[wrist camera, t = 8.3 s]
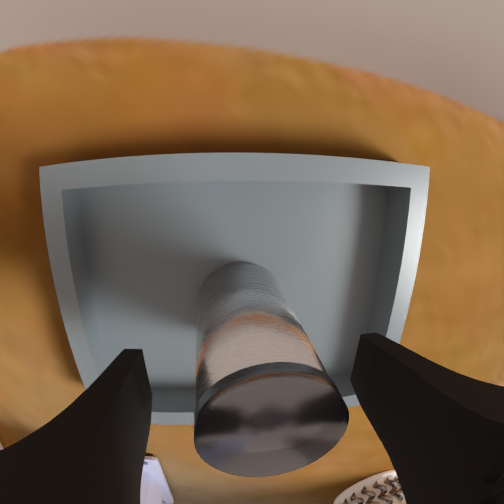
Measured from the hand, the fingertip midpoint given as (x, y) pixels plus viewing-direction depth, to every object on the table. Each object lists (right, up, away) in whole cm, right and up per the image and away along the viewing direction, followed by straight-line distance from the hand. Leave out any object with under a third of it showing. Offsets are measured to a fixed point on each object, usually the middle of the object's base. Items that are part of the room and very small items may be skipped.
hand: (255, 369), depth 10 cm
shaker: (-1, +1, +5) cm, 5 cm away
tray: (-1, +2, +5) cm, 6 cm away
